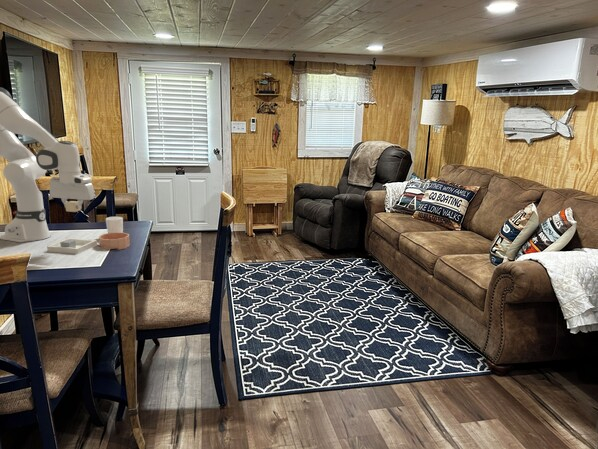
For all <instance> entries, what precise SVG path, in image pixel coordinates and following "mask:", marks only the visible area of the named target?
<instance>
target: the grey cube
mask: <svg viewBox="0 0 598 449" xmlns="http://www.w3.org/2000/svg"><path fill="white" fill-rule="evenodd" d="M64 240H65V239H64ZM61 241H62V240H61ZM59 242H60V241H59ZM60 244H61V247H70V248H76V245H75V240H65V241H62V242H60Z"/></svg>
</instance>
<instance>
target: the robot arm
mask: <svg viewBox="0 0 598 449" xmlns="http://www.w3.org/2000/svg"><path fill="white" fill-rule="evenodd" d="M16 135H19V136H20V135H22V136H25V137H30V138H32V139H34V140H36V141H37V142H39V144H41V145H42V146H43V147H44V148H43V149H39V150H38V151H37V152H36V155H35V154H34V153H33V152H32V151H30V150H29V149H28V148H27V147H26V146H25V145H24V144H23V143H22V142H21V141H20V139H19V138H18V137H17V136H16ZM0 157H1V158H4V159H5V160H6V161H7V162H8V163H7V164H6V165H5V166H3V170H2V171H3V172H2V173H3V176H4V179H6V180H7V181H8V182H9V183H10V185H11V187H12V189H13V192H14V195H15V200H16V206H17V210H15V211H12V213H13V215H15V217H14V218H13V219H12V220H11V221H9V223H7V224H6V225H5V226H4V227H5V228H4V234H2V235H0V240H3V241H5V240H6V241H10V242H17V243H25V242H32V241H33V242H34V241H35V242H36V241H40V240H45V239H47V238H50V237H51V236H52V235H51V232H50V230H49V227H48V224H47V219H46V215H47V214H46V213H47V212H46V208H44V207H45V206H44V199H43V197H44V196H43V192H42V191H40V189H39V187H38V185H37V183H36V180H39V179H40V178H42V177H43V176H45V174H46V172H47V171H53V170H58V177H57V176H53V177H51V178H50V180H49V195H50V197H51V198H54V199H61V202H62V203H63V205H64V208H65V209H66V204H65V203H66V202H68V199H69V200H77V201H78V202H79V203H78V205H76V209H81V210H82V205H83V203H84V200H85V201H90V200H91V201H92V200H93V199H94V198H95V188H94V184H92V181H93V178H92V177H90V176H88V175H86V174H84V173H82V169H81V168H80V164H81V157H80V151H79V147H78V145H77V143H75V142H73V141H68V140H58V139H57V138H56V137H55V136H54V135H53V134H52V133H50V132H49V131H48V130H47V129H46V128H45V127H44V126H42V124H40V123H39V122H37V121H36V120H35V119H33V118H32V117H31V116H29V114H27V112H25V111H24V109H23V108H21V106H19V104H18V103H16V102H15V101H14V99H13V97H12V95H11V93H10V92H9V91H8V90H7V89H5V88H4V87H0Z"/></svg>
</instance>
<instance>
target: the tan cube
mask: <svg viewBox="0 0 598 449" xmlns="http://www.w3.org/2000/svg"><path fill="white" fill-rule="evenodd" d="M78 203H79V202H78V200H77V201H76V200H69V201H67V202H66V203H65V204H66V208H65V211H66V212H71V213H77V212H79V211H81V210H82V208H81V209H76V205H78Z"/></svg>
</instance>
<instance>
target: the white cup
mask: <svg viewBox="0 0 598 449" xmlns="http://www.w3.org/2000/svg"><path fill="white" fill-rule="evenodd" d="M105 225H106V230H107V233H115V232H122V233H124V218H123V217H122V216H109V217H106V218H105Z"/></svg>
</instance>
